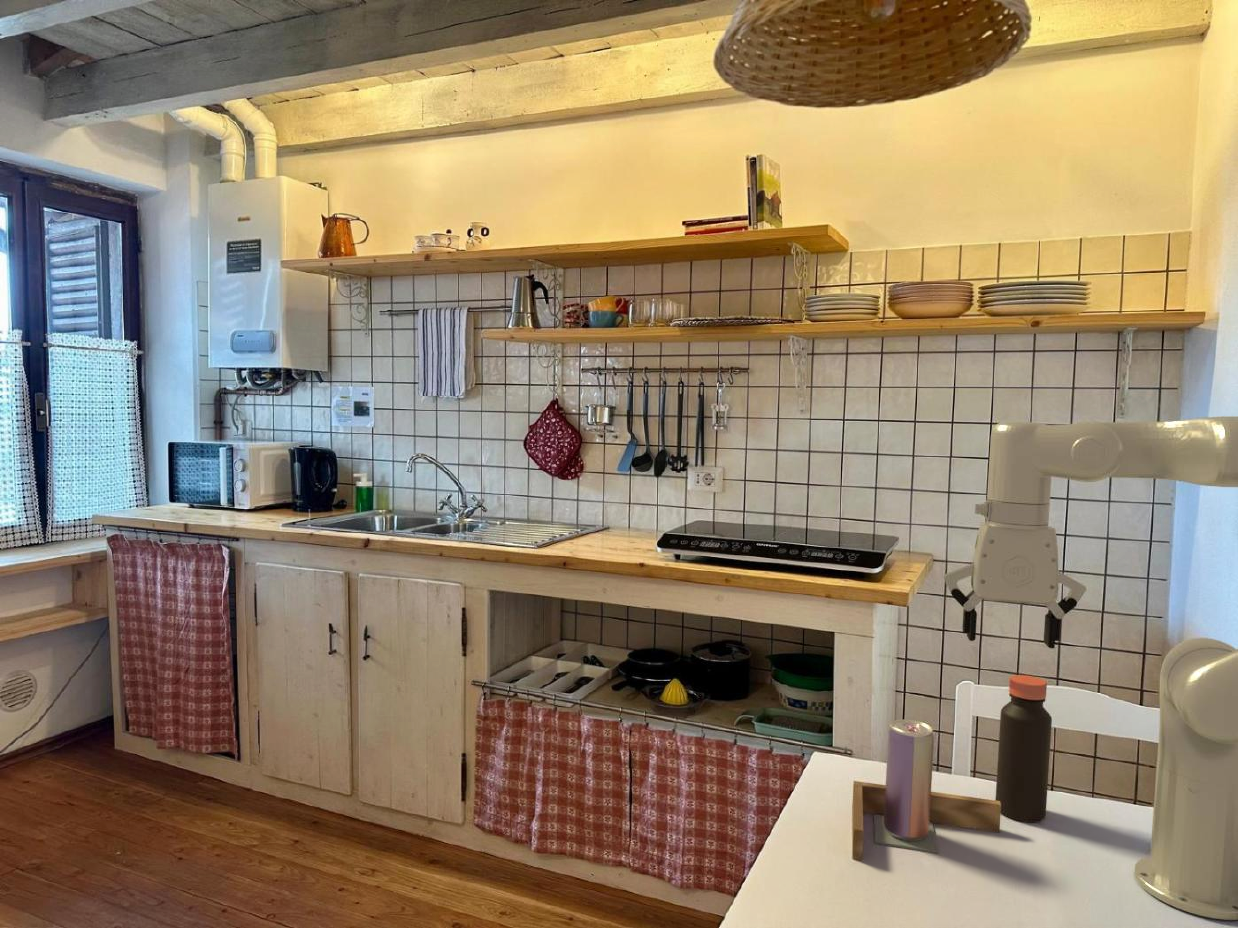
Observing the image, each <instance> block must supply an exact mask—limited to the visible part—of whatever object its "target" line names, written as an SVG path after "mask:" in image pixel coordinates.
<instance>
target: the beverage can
mask: <svg viewBox="0 0 1238 928" xmlns="http://www.w3.org/2000/svg"><path fill="white" fill-rule="evenodd" d="M889 726H890V727H889V729H888V732H887V733H888V735H887V736H888V737H887V750H886V751H887V753H886V755H887V756H886V769H885V770H886V771H885V785H886V788H885V807H884V815H883V816H884V826H885V828H886V830H887V832H888V833H889V834H890V835H892V836H894V837H896V838H898V839H901V840H905V841H920V840H923V839H924V838H925V837H926V836H927V835H928V833H929V823H930V822H929V821H930V803H931V792H932V783H933V782H932V781H933V765H934V764H933V763H934V751H935V749H934V745H935V743H934V742H935V737H934V730H933V727H932V726H931V725H928V724H927V723H924V722H923V721H922V722H921V721H918V720H913V719H895V720H892V721H891V722H890V724H889Z"/></svg>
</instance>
